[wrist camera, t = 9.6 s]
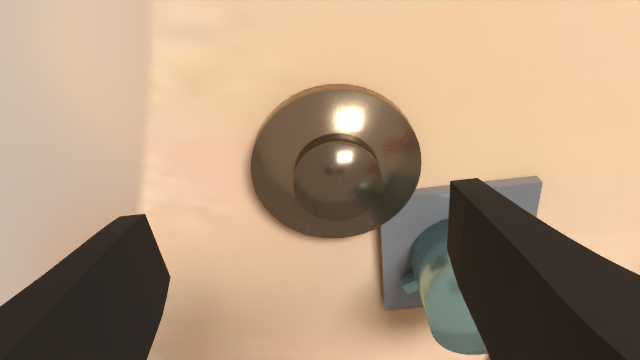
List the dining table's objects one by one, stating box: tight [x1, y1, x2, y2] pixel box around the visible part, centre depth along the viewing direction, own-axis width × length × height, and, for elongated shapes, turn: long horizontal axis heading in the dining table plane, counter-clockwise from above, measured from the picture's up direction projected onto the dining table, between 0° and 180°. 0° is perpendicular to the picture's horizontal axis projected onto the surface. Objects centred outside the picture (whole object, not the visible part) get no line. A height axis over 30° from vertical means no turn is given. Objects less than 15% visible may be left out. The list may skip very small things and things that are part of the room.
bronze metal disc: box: [251, 84, 421, 238], centre depth 20 cm, size 8×8×2 cm
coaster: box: [380, 176, 542, 310], centre depth 24 cm, size 8×8×1 cm
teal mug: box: [400, 218, 488, 355], centre depth 22 cm, size 7×5×4 cm
